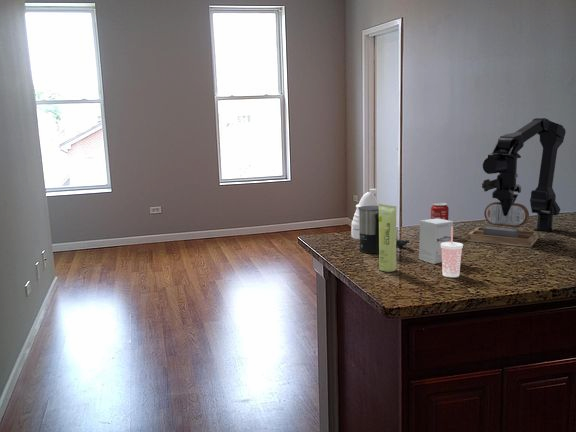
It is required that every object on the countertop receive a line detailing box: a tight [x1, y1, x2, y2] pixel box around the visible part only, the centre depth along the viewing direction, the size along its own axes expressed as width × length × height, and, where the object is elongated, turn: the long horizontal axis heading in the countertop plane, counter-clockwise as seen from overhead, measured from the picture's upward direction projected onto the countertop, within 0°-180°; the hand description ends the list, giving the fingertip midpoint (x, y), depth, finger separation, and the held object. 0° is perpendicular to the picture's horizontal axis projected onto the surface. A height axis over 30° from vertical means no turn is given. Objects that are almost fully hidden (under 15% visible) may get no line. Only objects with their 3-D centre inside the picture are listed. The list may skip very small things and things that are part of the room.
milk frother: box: [358, 206, 410, 254], centre depth 196 cm, size 14×16×15 cm
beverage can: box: [430, 202, 450, 220], centre depth 216 cm, size 6×6×12 cm
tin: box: [483, 201, 530, 228], centre depth 209 cm, size 15×3×8 cm, turn 58°
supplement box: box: [418, 218, 454, 265], centre depth 181 cm, size 7×7×13 cm
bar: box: [483, 225, 520, 238], centre depth 205 cm, size 11×4×4 cm, turn 53°
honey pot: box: [351, 188, 380, 241], centre depth 217 cm, size 13×13×18 cm
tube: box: [378, 203, 397, 273], centre depth 171 cm, size 6×5×20 cm
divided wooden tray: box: [467, 226, 539, 248], centre depth 207 cm, size 14×21×2 cm
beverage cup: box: [441, 226, 464, 278], centre depth 165 cm, size 6×6×14 cm
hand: (506, 215), depth 209 cm, fingers closed on tin, 2 cm apart
